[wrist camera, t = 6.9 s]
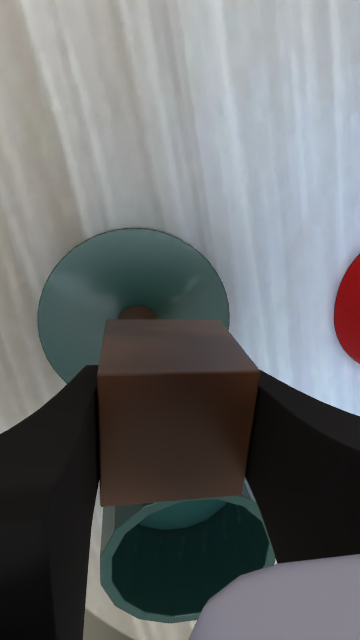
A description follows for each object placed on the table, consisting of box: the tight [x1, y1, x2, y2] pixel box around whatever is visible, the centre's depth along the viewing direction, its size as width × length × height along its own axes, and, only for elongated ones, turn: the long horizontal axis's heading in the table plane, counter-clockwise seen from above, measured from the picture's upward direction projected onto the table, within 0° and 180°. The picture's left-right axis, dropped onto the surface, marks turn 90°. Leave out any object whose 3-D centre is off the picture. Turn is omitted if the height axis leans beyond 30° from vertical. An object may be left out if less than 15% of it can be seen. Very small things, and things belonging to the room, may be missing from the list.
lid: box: [38, 228, 229, 384], centre depth 18 cm, size 10×10×4 cm
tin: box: [100, 478, 276, 623], centre depth 21 cm, size 10×10×6 cm
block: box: [97, 319, 260, 507], centre depth 11 cm, size 4×4×4 cm
